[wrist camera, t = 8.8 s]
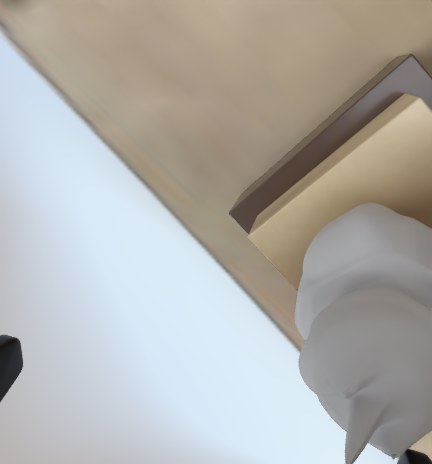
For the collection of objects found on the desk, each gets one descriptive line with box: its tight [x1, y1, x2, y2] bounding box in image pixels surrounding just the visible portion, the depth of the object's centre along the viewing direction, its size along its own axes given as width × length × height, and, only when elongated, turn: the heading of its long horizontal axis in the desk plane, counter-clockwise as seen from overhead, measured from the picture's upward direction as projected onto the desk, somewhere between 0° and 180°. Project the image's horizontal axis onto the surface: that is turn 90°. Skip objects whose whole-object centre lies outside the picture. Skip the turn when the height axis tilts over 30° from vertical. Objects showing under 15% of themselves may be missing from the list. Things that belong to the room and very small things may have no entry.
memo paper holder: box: [229, 54, 432, 291], centre depth 16 cm, size 9×9×6 cm
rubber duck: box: [295, 203, 432, 464], centre depth 10 cm, size 5×7×8 cm
